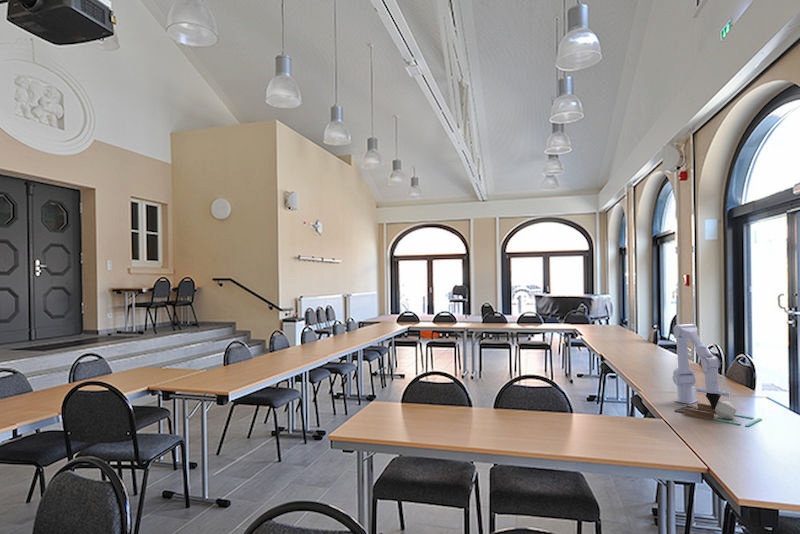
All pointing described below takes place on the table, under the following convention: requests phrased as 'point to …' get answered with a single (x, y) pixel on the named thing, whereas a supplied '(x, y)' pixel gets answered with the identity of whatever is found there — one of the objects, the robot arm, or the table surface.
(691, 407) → the grey flat rectangular tray
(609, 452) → the table surface
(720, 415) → the die
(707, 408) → the channel
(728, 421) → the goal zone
